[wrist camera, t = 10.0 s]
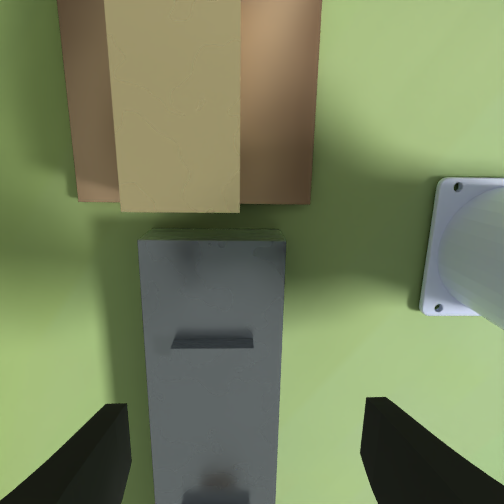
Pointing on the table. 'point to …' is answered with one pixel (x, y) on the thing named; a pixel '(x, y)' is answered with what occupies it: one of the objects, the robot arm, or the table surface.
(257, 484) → the body
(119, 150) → the tan rectangular block
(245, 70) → the walnut board
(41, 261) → the table surface
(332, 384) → the table surface
